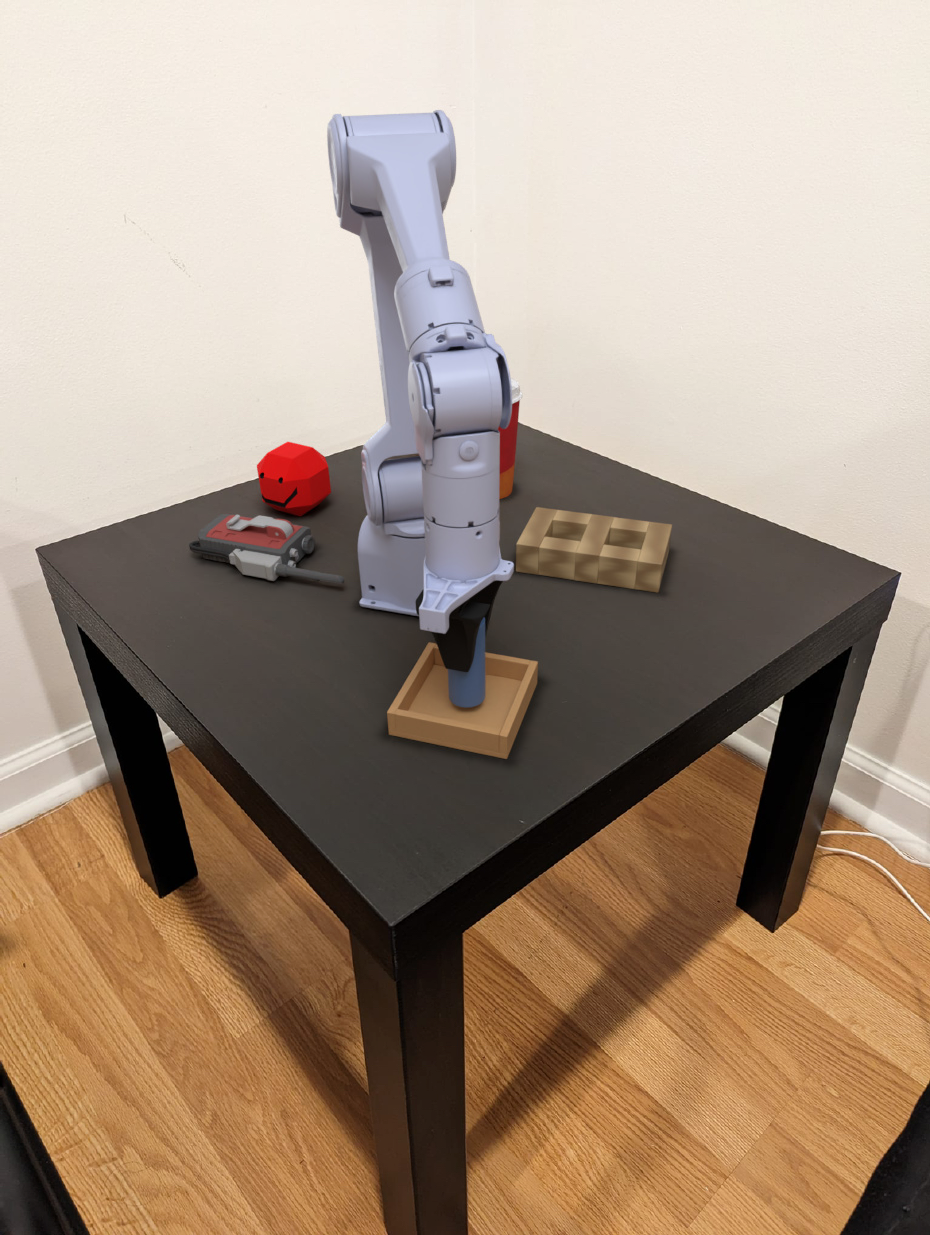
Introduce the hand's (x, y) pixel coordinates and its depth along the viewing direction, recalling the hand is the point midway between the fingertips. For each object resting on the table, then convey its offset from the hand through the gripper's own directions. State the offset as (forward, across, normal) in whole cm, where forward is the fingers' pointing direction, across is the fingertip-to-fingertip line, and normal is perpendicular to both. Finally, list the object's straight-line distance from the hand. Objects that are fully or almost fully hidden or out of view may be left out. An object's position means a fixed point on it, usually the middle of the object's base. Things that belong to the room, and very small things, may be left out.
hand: (464, 655), depth 73 cm
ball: (+6, +31, +32) cm, 45 cm away
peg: (+4, 0, 0) cm, 4 cm away
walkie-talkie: (+6, +18, +28) cm, 34 cm away
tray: (+6, 0, 0) cm, 6 cm away
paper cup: (+6, +42, +10) cm, 44 cm away
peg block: (+6, +28, -6) cm, 29 cm away
